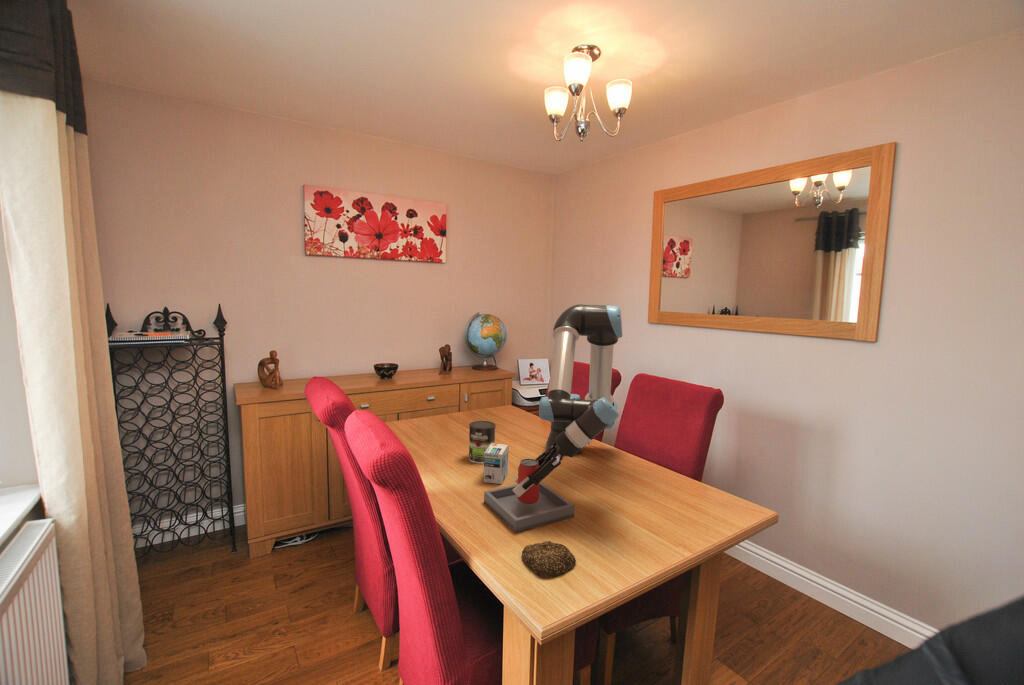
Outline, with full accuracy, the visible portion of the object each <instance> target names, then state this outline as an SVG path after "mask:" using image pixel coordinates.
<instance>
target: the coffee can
mask: <svg viewBox="0 0 1024 685" xmlns="http://www.w3.org/2000/svg"><path fill="white" fill-rule="evenodd" d="M468 436H469V442H468V446H469V447H468V449H469V450H468V460H469V462H471V463H473V464H478V465H484V452H485V451H486V450H487V448H488V447H489V446H490V444H491V443H495V444H496V423H494V422H492V421H489V420H475V421H472V422H469V434H468Z"/></svg>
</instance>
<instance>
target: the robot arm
mask: <svg viewBox="0 0 1024 685" xmlns="http://www.w3.org/2000/svg"><path fill="white" fill-rule="evenodd" d="M622 324H623V322H622V311H621V308H620V307H619V306H617V305H609V304H607V305H603V304H580V303H579V304H575V305H572V306H570V307H568V308H566V309H565V310H564V311H563V312H562V313H561V314H560V315H559V316H558V318H557V319H556V320H555V322H554V325H553V330H552V337H553V340H554V343H553V349H552V350H553V352H552V360H551V367H550V373H549V374H550V375H549V380H548V388H547V396H541V398H540V400H539V404H538V405H539V406H538V415H539V416H538V417H539V418H540V419H541V420H543V421H548V422H550V432H549V434H548V437H547V440H546V442H545V449H546V450H544V452H542V453H541V454H540V455H539V456H537V457H536V458H535V459H534V460H537V461H538V464H539V467H538V468H537V469H536V470H535V471H534V473H533V474H532V475H531V476H529V475H527V478H526V479H524V480H523V481H522V482H521V483H520V484H519V485H517V484H518V476H517V477H516V478H515V479H514V481H515V483H516V485H517V486H516V487H515V488H514V489H513V492H514V493H515V494H516V495H517V496H518V497H520V496H521V495H522V494H523V493H524V492H526V491H527V490H528V489H529V488H530V487H531V486H532V485H534V484H535V485H538V483H540V482H542V481H543V480H544V479H545V478H546V477H547V476H548V475H550V473H551V472H553V471H554V470H555V469H556V468H558V467H559V466H561V464H562V463H561V462H562V460H564V456H567V457H570V458H573V457H575V455H578V454H580V453H581V452H582V451H583V450H582V449H583V448H585V447H586V446H587V445H590V444H592V443H591V442H592V441H593V440H594V439H595V438H596V437H597V436H598V435H599V434H601V433H602V432H603V431H604V430H610V429H612V428H613V427H614V425H615V422H616V420H617V419H618V418H619V416H620V414H619V411H618V402H617V401H615V398H614V396H613V395H612V394H611V392H612V391H611V390H612V377H613V376H612V373H613V360H614V346H615V345H616V344H617V343H618V342H619V339H621V338H622V337H623V325H622ZM581 336H582V337H586V341H587V342H588V343H589V344H590V352H589V354H590V355H589V377H588V378H589V380H588V381H589V382H588V392H587V394H586V395H585V396H584V398H581V395H580V394H577V393H572V384H573V377H574V376H573V375H574V364H575V354H576V342H578V340H579V338H580V337H581Z"/></svg>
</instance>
